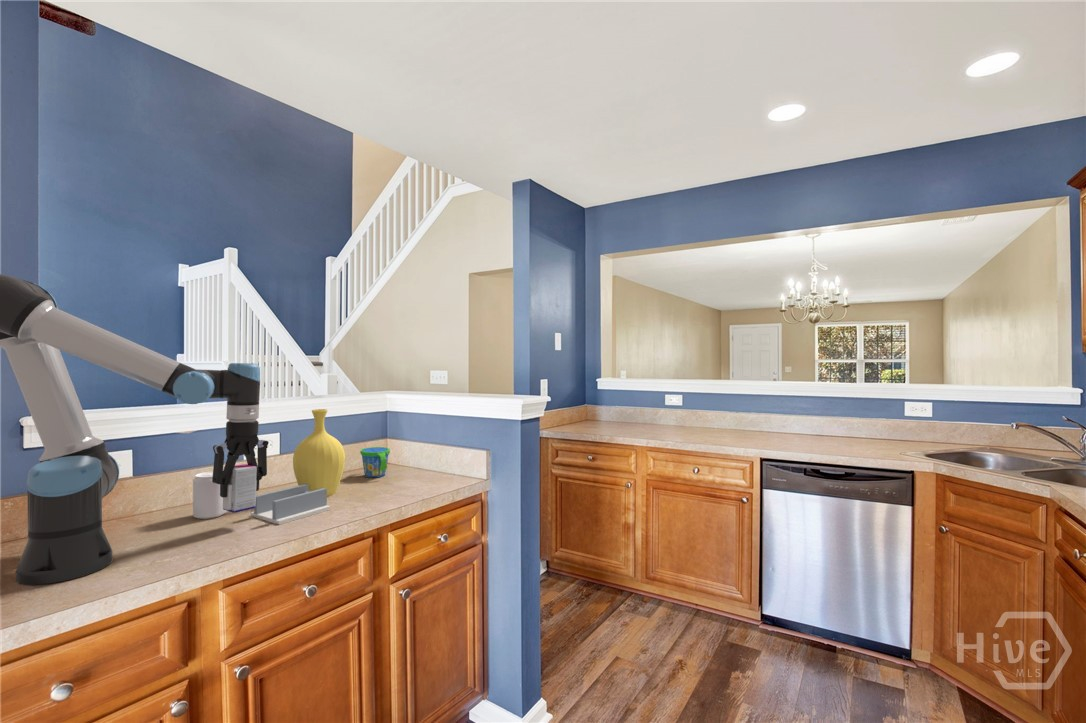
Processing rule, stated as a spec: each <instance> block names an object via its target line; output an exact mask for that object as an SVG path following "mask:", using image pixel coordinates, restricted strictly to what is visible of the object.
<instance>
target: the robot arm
mask: <svg viewBox="0 0 1086 723" xmlns="http://www.w3.org/2000/svg"><path fill="white" fill-rule="evenodd" d="M0 348H1V349H2V350H4V351H5V354H6V356H7V358H8V361H9V364H10V366H11V368H12V371H13V373H14V377H15V378H16V380H17V381H16V382H17V384H18V386H19V388H20V391H21V393H22V397H23V398H24V402H25V403H26V406H27V409H28V410H29V413H30V415H31V418H32V420H33V422H34V425H35V429H36V431H37V433H38V436H39V438H40V441H41V443H42V445H43V450H44V451H43V453H42V454H41V456H40V457H39V458H38V461H39V463H37V464H35V465H33V466H32V467H31V468H30V469H29V471H28V473H27V480H26V485H25V486H26V490H27V495H26V496H27V542H26V544H25V547H24V550H23V552H22V554H21V556H20V559H19V561H18V563H17V566H16V568H15V580H16V583H18V584H22V585H29V586H30V585H32V586H33V585H47V584H48V585H49V584H54V583H59V582H65V581H69V580H74V579H78V578H82V577H83V576H87V575H90V574H93V573H95V572H98V571H101V570H103V569H104V568H107V566H109V565H110V564H111V563H112V562H113V549H112V547H111V544H110V542H109V541H108V540H109V539H108V538H107V536H106V533H105V532H104V529H103V498H105V497H106V496H108V495H109V494H110V492H112V491H113V490H114V488H115V487H116V485H117V483H118V480H119V478H120V467H119V466H120V465H119V464H118V462H117V460H116V459H115V458H114V457H113V456H112V455H111V454H109V452H108V449H107V446H106V444H105V442H104V440H103V439H100V438H98V437H96V436H93V434H92V431H91V428H90V426H89V422H88V420H87V417H86V415H85V412H84V410H83V408H82V405H81V402H80V399H79V397H78V395H77V392H76V388H75V386H74V383H73V382H72V379H71V377H70V373H69V371H68V368H67V366H66V363H65V360H64V358H63V355H62V353H61V351H62V352H65V353H66V354H69V355H71V356H75V357H77V358H80V359H82V360H85V361H87V362H89V363H90V364H91V363H92V364H93V365H97V366H99V367H101V368H104V369H107V370H109V371H111V372H114V373H116V374H118V375H121V376H124V377H126V378H129V379H131V380H134V381H136V382H139V383H141V384H144V385H146V386H149V387H151V388H154V389H155V390H158V391H161V392H163V393H166V394H168V395H170V396H172V397H173V398H175V399H177V400H178V401H180V402H182V403H184V404H187V405H197V404H202V403H204V402H206V401H208V399H226V400H227V402H226V420H228V421H227V422H226V423H225V436H226V437H225V439H224V442H223V443H221V444H219V445H217V444H215V445H213V447H212V450H213V454H214V456H213V457H214V460H213V467H212V468H213V470H212V471H213V477H212V482H213V483H216V484H220V496H221V497H223V509H226V510H231V499H232V485H231V484H229V482H230V479H231V476H232V473H233V469H234V467H235V466H236V463H237V461H238V460H239V458H240V456H244V457H245V459H246V463H247V465H251V466H256V467H257V472H256V492H257V491H258V492H259V490H260V481H261V480H262V479H263V477H266V476H267V475H268V463H267V462H268V458H267V456H268V455H267V454H268V452H267V449H268V446H269V441H268V440H265V439H260V438H259V436H258V434H259V424H260V423H259V421H258V419H259V415H260V412H259V411H260V392H261V367H260V366H259V365H258V364H257V363H250V362H249V363H248V362H246V363H245V362H243V363H242V362H230V363H229V364H228V366H227V369H221V370H220V369H219V370H218V369H197V368H193V367H192V366H189V365H187V364H183V363H182V362H179V361H178V360H175V359H172V358H170V357H168V356H166V355H163V354H161V353H159V352H156V351H154V350H152V349H150V348H149V347H146V346H144V345H140V344H139V343H137V342H135V341H132V340H130V339H127V338H125V337H123V336H121V335H118V334H117V333H113V332H112V331H110V330H107V329H105V328H102V327H100V326H98V325H96V324H93V323H91V322H89V321H87V320H85V319H82V318H80V317H77V316H75V315H73V314H71V313H68V312H66V311H64V310H62V309H59V307H58V303H57V300H56V299H55V297H54V296H53V295H52V294H51V293H50V292H49V291H48V290H47V289H46V288H44V287H43V286H41V285H39V284H37V283H34V282H33V281H29V280H25V279H20V278H17V277H15V276H11V275H7V274H1V273H0ZM255 447H257V449H256V450H257V451H256V453H257V460H256V453H255ZM226 449H227V451H228V452H227V455H226V458H227V459H226V462H225V452H226ZM224 462H225V464H224Z"/></svg>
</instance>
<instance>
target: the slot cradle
mask: <svg viewBox="0 0 1086 723" xmlns="http://www.w3.org/2000/svg"><path fill="white" fill-rule="evenodd" d="M327 498H328V496H327V489H325V488H322V489H318V490H314V491H308V484H303V485H299V486H298V485H295V486H290V487H287V488H282V489H279V490H278V489H277V490H273V491H270V492H269V491H268V492H266V493H261V494H256V504H255V508H253V511H251V512H250V517H253V518H257V519H259V520H262V521H266V522H269V523H272V524H275V525H279V526H280V525H283V524H287V523H289V522H293V521H296V520H300V519H304V518H306V517H309V516H314V515H318V514H320V513H324V512H327V511H329V510H331V506H330V505H328V504H327V503H328V501H327V500H328V499H327Z"/></svg>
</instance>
